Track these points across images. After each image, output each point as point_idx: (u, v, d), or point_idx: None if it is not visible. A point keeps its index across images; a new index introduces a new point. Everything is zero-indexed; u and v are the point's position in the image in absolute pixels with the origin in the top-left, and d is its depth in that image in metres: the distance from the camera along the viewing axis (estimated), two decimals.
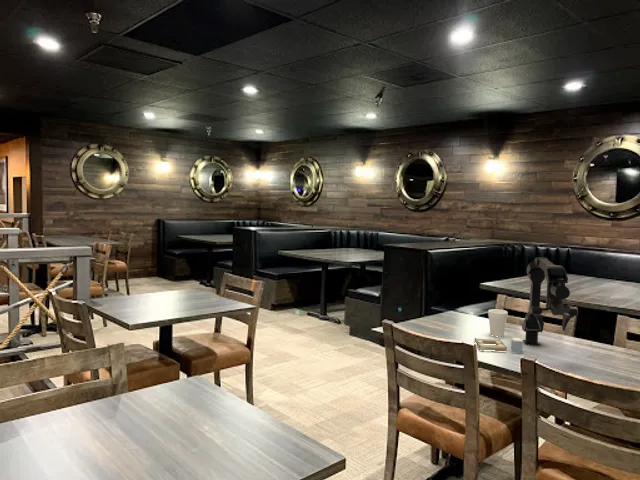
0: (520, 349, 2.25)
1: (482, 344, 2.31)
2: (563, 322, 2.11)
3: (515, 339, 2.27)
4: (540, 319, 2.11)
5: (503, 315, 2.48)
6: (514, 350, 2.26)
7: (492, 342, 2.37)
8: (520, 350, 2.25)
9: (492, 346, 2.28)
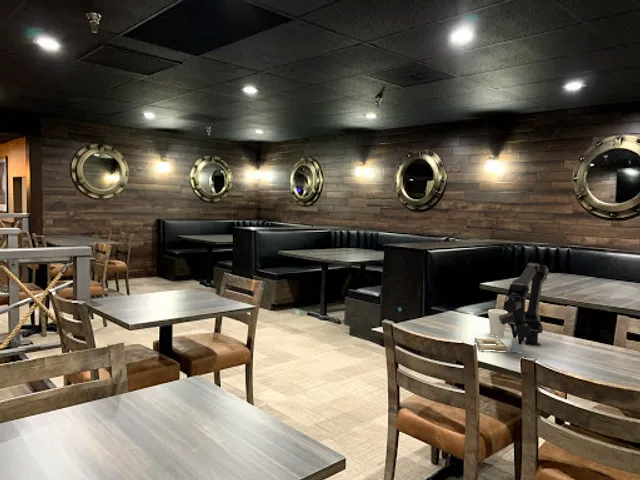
0: (520, 349, 2.25)
1: (482, 344, 2.31)
2: None
3: (515, 339, 2.27)
4: (511, 328, 2.32)
5: None
6: (514, 350, 2.26)
7: (492, 342, 2.37)
8: (520, 350, 2.25)
9: (492, 346, 2.28)
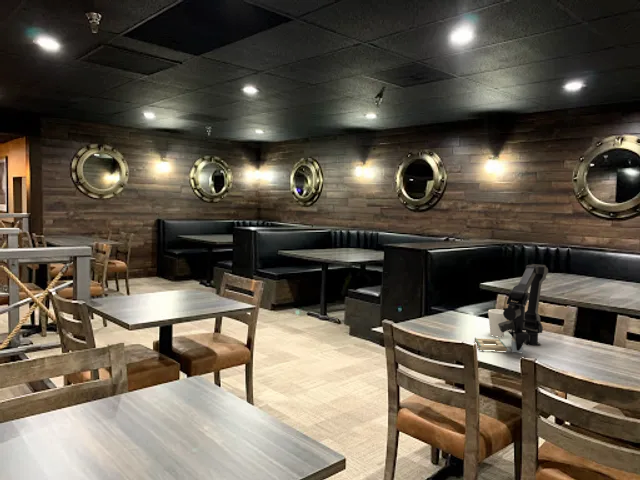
0: (520, 349, 2.25)
1: (482, 344, 2.31)
2: None
3: None
4: (512, 337, 2.30)
5: (503, 315, 2.48)
6: (514, 350, 2.26)
7: (492, 342, 2.37)
8: (520, 350, 2.25)
9: (492, 346, 2.28)
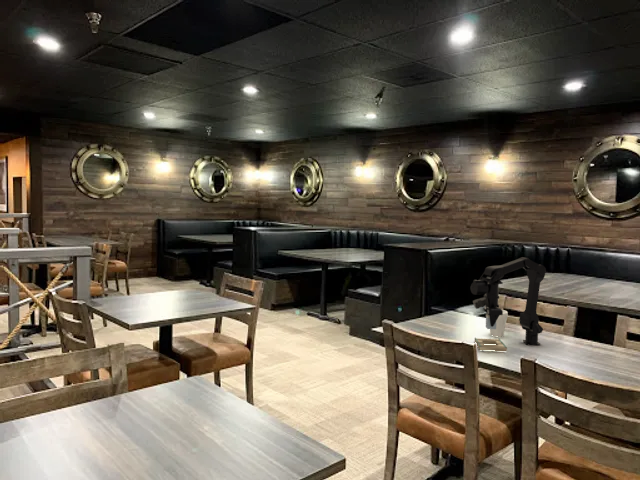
0: (494, 325, 2.31)
1: (482, 344, 2.31)
2: None
3: None
4: None
5: (503, 315, 2.48)
6: (488, 326, 2.31)
7: (492, 342, 2.37)
8: (494, 326, 2.31)
9: (492, 346, 2.28)
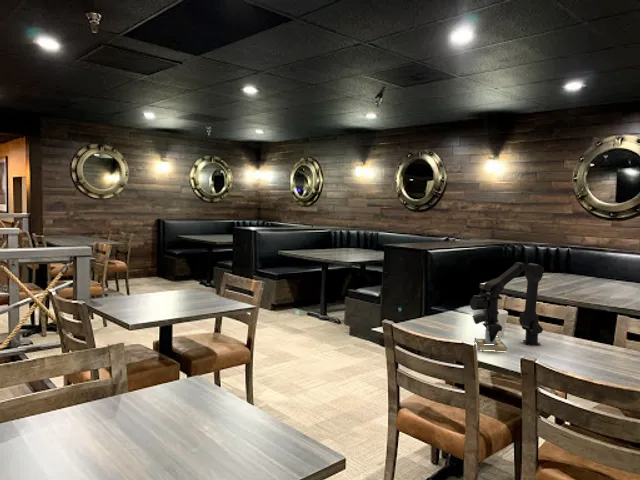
0: (493, 340, 2.31)
1: (482, 344, 2.31)
2: None
3: None
4: (486, 328, 2.36)
5: (503, 315, 2.48)
6: (487, 341, 2.32)
7: None
8: (493, 341, 2.31)
9: (492, 346, 2.28)
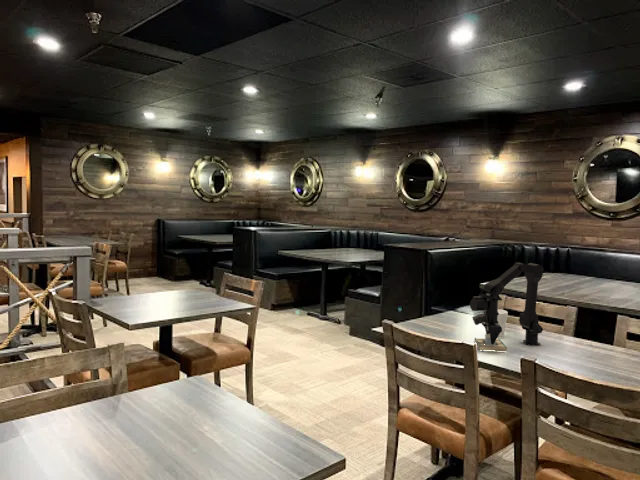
0: None
1: (482, 344, 2.31)
2: None
3: (488, 335, 2.33)
4: (485, 328, 2.38)
5: (503, 315, 2.48)
6: None
7: None
8: None
9: (492, 346, 2.28)
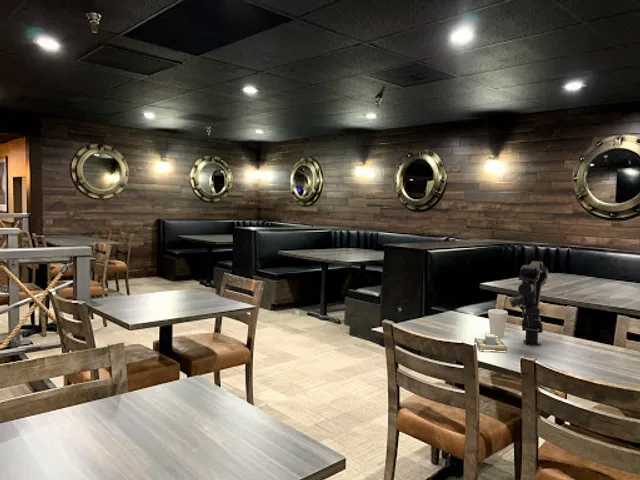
0: None
1: (482, 344, 2.31)
2: None
3: (488, 335, 2.33)
4: (522, 311, 2.35)
5: (503, 315, 2.48)
6: None
7: None
8: None
9: (492, 346, 2.28)
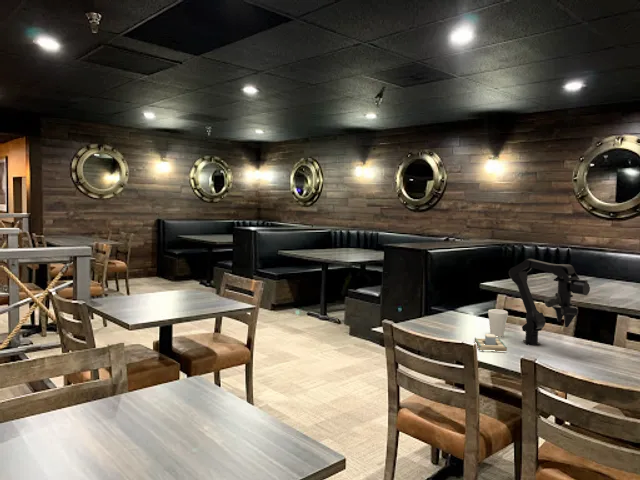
0: None
1: (482, 344, 2.31)
2: None
3: (488, 335, 2.33)
4: (555, 311, 2.32)
5: (503, 315, 2.48)
6: None
7: None
8: None
9: (492, 346, 2.28)
